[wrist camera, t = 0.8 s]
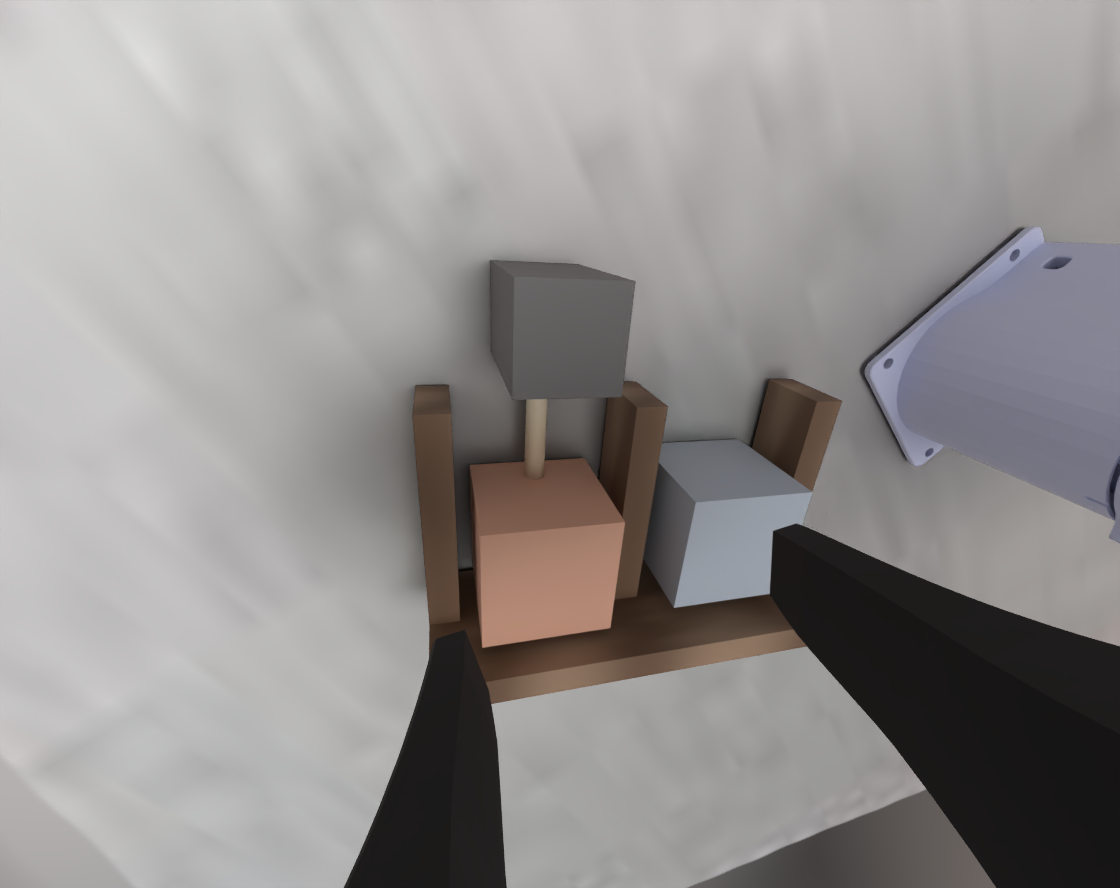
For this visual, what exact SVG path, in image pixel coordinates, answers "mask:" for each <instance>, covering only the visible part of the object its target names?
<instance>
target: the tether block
mask: <svg viewBox="0 0 1120 888" xmlns="http://www.w3.org/2000/svg"><path fill="white" fill-rule="evenodd" d="M634 289H635V281H633V280H629V279H626V278H622V277H619V276H616V275H612V274H609V273H606V272H602V271H599V270H596V269H592V268H589V267H586V266H582V265H579V264H561V263H538V262H516V261H494V260H490V292H491V353H492V355H493V357H494V359H495V362H496V364H497V366H498V368H499V371H500V373H501V375H502V378H503V380H504V382H505V384H506V387H507V389H508V391H509V393H510V396H511V398H512V400H526V430H525V462H510V463H493V464H476V465H470V494H471V530H472V562H473V571H474V580H475V589H476V597H477V606H478V615H479V624H480V633H481V641H482V648H484V647H491V646H497V645H504V644H510V643H517V642H523V641H530V640H536V639H543V638H549V637H556V636H562V635H569V634H575V633H582V632H588V631H595V630H601V629H608V628H610V627H611V620H612V613H613V605H614V598H615V591H616V584H617V577H618V570H619V562H620V555H621V548H622V541H623V534H624V527H625V521H624V520H623V518H622V516H621V515H620V513H619V512H618V510H617V509H616V507H615V505H614V504H613V502H612V501H611V499H610V498H609V496H608V494H607V493H606V491H605V490H604V488H603V487H602V485H601V483H600V482H599V480H598V479H597V477H596V476H595V474H594V472H593V471H592V469H591V468H590V466H589V465H588V463H587V461H586V460H585V458H577V459H560V460H545V441H546V421H547V400H548V399H569V398H606V397H622V390H623V381H624V373H625V365H626V356H627V348H628V339H629V331H630V323H631V314H632V306H633V298H634Z"/></svg>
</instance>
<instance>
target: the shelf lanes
mask: <svg viewBox="0 0 1120 888" xmlns="http://www.w3.org/2000/svg"><path fill="white" fill-rule="evenodd" d="M841 403H842V401H841V400H838V399H836V398H834V397H832V396H829V395H827V394H825V393H823V392H820V391H818V390H816V389H813V388H811V387H809V386H807V385H804V384H802V383H800V382H797V381H795V380H793V379H769V383H768V387H767V391H766V395H765V399H764V403H763V407H762V410H761V414H760V418H759V422H758V426H757V430H756V434H755V438H754V442H753V446H752V449H753V450H754V451H756V452H757V453H759V454H760V455H761V456H763V457H764V458H766V459H767V460H768V461H770V462H771V463H773V464H774V465H775V466H777V467H778V468H780V469H781V470H782V471H784V472H785V473H787V474H788V475H789V476H791V477H792V478H794V479H795V480H796V481H798V482H799V483H801V484H802V485H803V486H805V487H806V488H808V489H809V490H810V491H813V487H814V484H815V481H816V478H817V475H818V472H819V469H820V466H821V463H822V460H823V457H824V454H825V451H826V448H827V445H828V442H829V439H830V436H831V433H832V430H833V427H834V424H835V421H836V418H837V415H838V412H839V409H840V406H841ZM667 409H668V406H666V405H665V404H664V403H662V402H661V401H660V400H659V399H657V398H656V397H655V396H654V395H652V394H651V393H650V392H649V391H647V390H646V389H645V388H643V387H642V386H641V385H640V384H638V383H637V382H623V390H622V397H608V402H607V411H606V420H605V430H604V439H603V449H602V458H601V468H600V477H599V482H600V483H601V485H602V487H603V488H604V490H605V491H606V493H607V494H608V496H609V498H610V499H611V501H612V502H613V504H614V505H615V507H616V509H617V510H618V512H619V513H620V515H621V516H622V518H623V520H624V521H625V527H624V534H623V541H622V548H621V555H620V562H619V570H618V577H617V584H616V591H615V598H614V605H613V613H612V620H611V627H610V628H608V629H601V630H595V631H588V632H582V633H575V634H569V635H562V636H556V637H549V638H543V639H536V640H530V641H523V642H517V643H510V644H504V645H497V646H491V647H484V648H482V641H481V633H480V624H479V615H478V606H477V597H476V589H475V580H474V571H473V570H471V571H462V572H458V559H457V536H456V513H455V490H454V468H453V445H452V422H451V407H450V395H449V385H443V386H416V388H415V397H414V406H413V428H414V440H415V452H416V465H417V477H418V489H419V501H420V514H421V526H422V538H423V551H424V563H425V575H426V587H427V600H428V612H429V624H430V632H429V657H430V653H431V648H432V644H433V643H434V641H435V640H436V639H437V638H440V637H443V636H446V635H449V634H452V633H456V632H459V631H462V630H465V631H466V633H467V636H468V639H469V641H470V644H471V646H472V649H473V651H474V654H475V656H476V659H477V661H478V664H479V667H480V669H481V672H482V674H483V677H484V679H485V682H486V684H487V687H488V689H489V694H490V700H491V704H494V703H499V702H505V701H510V700H516V699H521V698H526V697H532V696H537V695H543V694H548V693H554V692H559V691H565V690H570V689H576V688H581V687H587V686H592V685H598V684H603V683H609V682H614V681H620V680H625V679H631V678H636V677H641V676H647V675H652V674H658V673H663V672H669V671H674V670H680V669H685V668H691V667H696V666H702V665H707V664H713V663H718V662H724V661H729V660H735V659H740V658H746V657H751V656H756V655H762V654H767V653H773V652H778V651H784V650H789V649H795V648H800V647H806V645H805V643H804V642H803V641H802V640H801V639H800V637H799V636H798V635H797V634H796V632H795V631H794V630H793V628H792V627H791V625H790V624H789V623H788V621H787V620H786V619H785V617H784V616H783V614H782V613H781V611H780V610H779V608H778V607H777V605H776V604H775V602H774V601H773V599H772V598H771V596H770V594H765V595H758V596H751V597H745V598H738V599H731V600H724V601H717V602H710V603H704V604H697V605H690V606H683V607H676V608H674V607H673V606H672V604H671V603H670V601H669V599H668V598H667V596H666V594H665V593H664V591H663V590H662V588H661V586H660V585H659V583H658V581H657V580H656V578H655V577H654V575H653V573H652V572H651V570H650V569H649V567H648V565H647V564H646V562H645V560H644V559H643V555H644V549H645V543H646V537H647V531H648V525H649V519H650V513H651V506H652V500H653V494H654V488H655V482H656V476H657V470H658V464H659V458H660V452H661V446H662V440H663V433H664V427H665V421H666V415H667Z"/></svg>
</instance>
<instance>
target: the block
mask: <svg viewBox="0 0 1120 888" xmlns="http://www.w3.org/2000/svg"><path fill="white" fill-rule="evenodd" d="M812 493H813V492H812V491H810V490H809V489H808V488H806V487H805V486H803V485H802V484H801V483H799V482H798V481H796V480H795V479H794V478H792V477H791V476H789V475H788V474H787V473H785V472H784V471H782V470H781V469H780V468H778V467H777V466H775V465H774V464H773V463H771V462H770V461H768V460H767V459H766V458H764V457H763V456H761V455H760V454H759V453H757V452H756V451H754V450H753V449H752V448H750V447H749V446H747V445H746V444H745V443H743V442H742V441H740V440H739V439H729V440H710V441H691V442H672V443H662V446H661V452H660V458H659V464H658V470H657V476H656V482H655V488H654V494H653V500H652V506H651V513H650V519H649V525H648V531H647V537H646V543H645V549H644V555H643V559H644V560H645V562H646V564H647V565H648V567H649V569H650V570H651V572H652V573H653V575H654V577H655V578H656V580H657V581H658V583H659V585H660V586H661V588H662V590H663V591H664V593H665V594H666V596H667V598H668V599H669V601H670V603H671V604H672V606H673V607H674V608H676V607H683V606H690V605H697V604H704V603H710V602H717V601H724V600H731V599H738V598H745V597H751V596H758V595H765V594H770V578H771V558H772V538H773V531H774V530H777V529H780V528H783V527H786V526H789V525H793V524H796V523H797V524H800V525H802V523H803V520H804V517H805V514H806V511H807V508H808V505H809V502H810V499H811V496H812Z"/></svg>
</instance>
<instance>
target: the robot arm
mask: <svg viewBox="0 0 1120 888" xmlns="http://www.w3.org/2000/svg"><path fill="white" fill-rule="evenodd" d="M885 361H886V362H885ZM884 362H885V363H884ZM865 377H866V379H867V381H868V383H869V385H870V387H871V389H872V391H873V393H874V395H875V397H876V399H877V401H878V403H879V404H880V406H881V408H882V410H883V412H884V414H885V416H886V418H887V420H888V422H889V424H890V426H891V428H892V430H893V432H894V434H895V436H896V438H897V440H898V442H899V444H900V446H901V448H902V450H903V452H904V454H905V456H906V458H907V460H908V462H909V463H910V464H912V465H914V466H920V465H922V464H924V463H925V462H926V461H928V460H929V459H930V458H931V457H933V456H934V455H935V454H936V453H937V452H939V451H940V450H941V449H942V448H944V447H945V446H946V447H948V448H950V449H952V450H955V451H957V452H959V453H962V454H964V455H966V456H968V457H971V458H973V459H975V460H977V461H980V462H982V463H984V464H987V465H989V466H991V467H993V468H996V469H998V470H1000V471H1003V472H1005V473H1007V474H1009V475H1012V476H1014V477H1016V478H1019V479H1021V480H1023V481H1025V482H1028V483H1030V484H1032V485H1034V486H1037V487H1039V488H1041V489H1044V490H1046V491H1048V492H1050V493H1053V494H1055V495H1057V496H1060V497H1062V498H1064V499H1066V500H1069V501H1071V502H1073V503H1075V504H1078V505H1080V506H1082V507H1085V508H1087V509H1089V510H1091V511H1094V512H1096V513H1098V514H1101V515H1103V516H1105V517H1107V518H1110V519H1112V520H1114V521H1115V523H1114V526H1113V529H1112V531H1111V533H1110V535H1109V538H1110V539H1112V540H1114V541H1116V542H1118V543H1120V245H1118V244H1088V243H1057V242H1044V237H1043V232H1042V230H1041V228H1039V227H1027V228H1025V229H1024V230H1022V231H1021V232H1020V233H1019V234H1018V235H1017V236H1015V237H1014V238H1013V239H1012V240H1011V241H1010V242H1008V243H1007V244H1006V245H1005V246H1004V247H1003V248H1001V249H1000V250H999V251H998V252H997V253H996V254H995V255H993V256H992V257H991V258H990V259H989V260H988V261H986V262H985V263H984V264H983V265H982V266H981V267H979V268H978V269H977V270H976V271H975V272H974V273H972V274H971V275H970V276H969V277H968V278H967V279H965V280H964V281H963V282H962V283H961V284H960V285H959V286H957V287H956V288H955V289H954V290H953V291H952V292H950V293H949V294H948V295H947V296H946V297H945V298H943V299H942V300H941V301H940V302H939V303H938V304H936V305H935V306H934V307H933V308H932V309H931V310H930V311H928V312H927V313H926V314H925V315H924V316H923V317H921V318H920V319H919V320H918V321H917V322H916V323H914V324H913V325H912V326H911V327H910V328H909V329H907V330H906V331H905V332H904V333H903V334H902V335H900V336H899V337H898V338H897V339H896V340H895V341H894V342H892V343H891V344H890V345H889V346H888V347H887V348H885V349H884V350H883V351H882V352H881V353H880V354H878V355H877V356H876V357H875V358H874V359H873V360H871V361H870V362H869V363H868V364H867V366H866V368H865ZM770 596H771V598H772V599H773V601H774V602H775V604H776V605H777V607H778V608H779V610H780V611H781V613H782V614H783V616H784V617H785V619H786V620H787V621H788V623H789V624H790V625H791V627H792V628H793V630H794V631H795V632H796V634H797V635H798V636H799V637H800V639H801V640H802V641H803V642H804V643H805V645H806V646H807V647H808V648H809V649H810V650H811V651H812V653H813V654H814V655H815V656H816V657H817V658H818V659H819V661H820V662H821V663H822V664H823V665H824V666H825V667H826V669H827V670H828V671H829V672H830V673H831V674H832V675H833V676H834V677H835V679H836V680H837V681H838V682H839V683H840V684H841V685H842V686H843V688H844V689H845V690H846V691H847V692H848V693H849V694H850V696H851V697H852V698H853V699H854V700H855V701H856V702H857V703H858V705H859V706H860V707H861V708H862V709H863V710H864V711H865V712H866V714H867V715H868V716H869V717H870V718H871V719H872V720H873V721H874V723H875V724H876V725H877V726H878V727H879V728H880V730H881V731H882V732H883V733H884V734H885V736H886V737H887V738H888V739H889V740H890V742H891V743H892V744H893V745H894V746H895V748H896V749H897V750H898V752H899V753H900V754H901V756H902V757H903V758H904V760H905V761H906V762H907V764H908V765H909V766H910V768H911V769H912V770H913V772H914V773H915V774H916V776H917V777H918V778H919V780H920V781H921V782H922V784H923V785H924V786H925V788H926V789H927V790H928V792H929V793H930V794H931V795H932V797H933V798H934V800H935V801H936V803H937V804H938V805H939V807H940V808H941V809H942V811H943V812H944V814H945V815H946V816H947V818H948V819H949V821H950V822H951V823H952V825H953V826H954V828H955V829H956V830H957V832H958V833H959V835H960V836H961V837H962V839H963V840H964V841H965V843H966V844H967V846H968V847H969V848H970V850H971V851H972V853H973V854H974V855H975V857H976V858H977V860H978V861H979V863H980V864H981V866H982V867H983V869H984V870H985V872H986V873H987V875H988V876H989V878H990V879H991V880H992V882H993V883H994V885H995V886H996V888H1120V646H1116V645H1113V644H1109V643H1106V642H1102V641H1099V640H1095V639H1092V638H1088V637H1085V636H1081V635H1078V634H1075V633H1072V632H1068V631H1065V630H1062V629H1059V628H1056V627H1052V626H1049V625H1046V624H1044V623H1041V622H1038V621H1035V620H1032V619H1029V618H1026V617H1023V616H1020V615H1017V614H1014V613H1011V612H1008V611H1005V610H1002V609H999V608H997V607H994V606H991V605H988V604H986V603H983V602H980V601H977V600H975V599H972V598H970V597H967V596H965V595H962V594H960V593H957V592H954V591H952V590H949V589H947V588H944V587H942V586H939V585H937V584H934V583H932V582H929V581H927V580H925V579H922V578H920V577H917V576H915V575H913V574H910V573H908V572H906V571H903V570H901V569H899V568H896V567H894V566H892V565H889V564H887V563H885V562H883V561H880V560H878V559H876V558H874V557H871V556H869V555H867V554H865V553H863V552H860V551H858V550H856V549H854V548H851V547H849V546H847V545H845V544H843V543H840V542H838V541H836V540H834V539H832V538H829V537H827V536H825V535H823V534H821V533H818V532H816V531H814V530H811V529H809V528H807V527H804V526H802V525H800V524H797V523H796V524H793V525H789V526H786V527H783V528H780V529H777V530H774V531H773V538H772V558H771V578H770ZM344 888H507V886H506V876H505V861H504V844H503V827H502V811H501V794H500V778H499V762H498V747H497V737H496V731H495V725H494V718H493V712H492V706H491V700H490V694H489V689H488V687H487V684H486V682H485V679H484V677H483V674H482V672H481V669H480V667H479V664H478V661H477V659H476V656H475V654H474V651H473V649H472V646H471V644H470V641H469V639H468V636H467V633H466V631H465V630H462V631H459V632H456V633H452V634H449V635H446V636H443V637H440V638H437V639H436V640H435V641H434V643H433V644H432V648H431V653H430V657H429V661H428V665H427V669H426V672H425V676H424V679H423V683H422V686H421V690H420V693H419V696H418V700H417V703H416V706H415V710H414V713H413V716H412V719H411V721H410V724H409V727H408V730H407V733H406V736H405V739H404V742H403V745H402V748H401V751H400V754H399V757H398V759H397V762H396V765H395V767H394V770H393V773H392V775H391V778H390V780H389V783H388V785H387V788H386V791H385V793H384V796H383V798H382V801H381V804H380V806H379V809H378V811H377V814H376V816H375V818H374V821H373V823H372V826H371V828H370V830H369V833H368V835H367V837H366V840H365V842H364V844H363V847H362V849H361V851H360V853H359V856H358V858H357V860H356V862H355V865H354V867H353V869H352V871H351V873H350V875H349V878H348V880H347V882H346V884H345V886H344Z"/></svg>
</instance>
